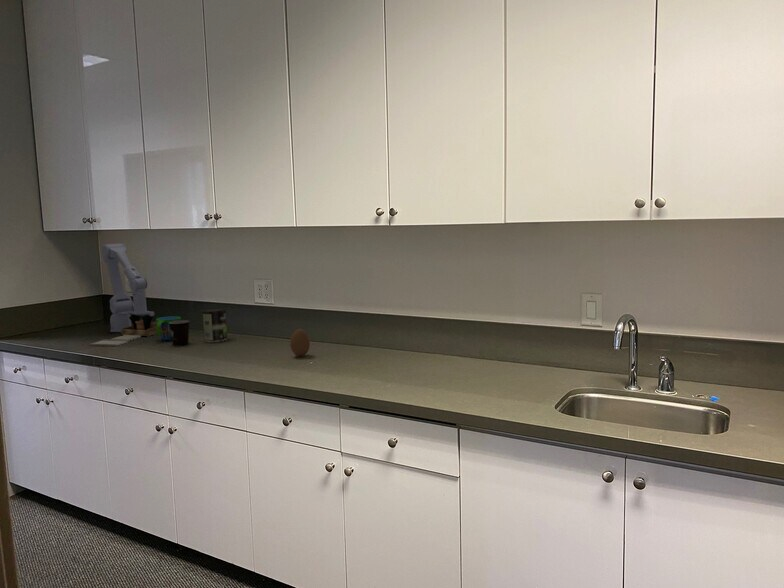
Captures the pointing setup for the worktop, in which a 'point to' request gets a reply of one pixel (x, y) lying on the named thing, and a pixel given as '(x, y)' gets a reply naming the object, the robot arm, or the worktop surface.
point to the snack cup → (165, 326)
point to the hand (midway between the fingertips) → (142, 330)
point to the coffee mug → (179, 332)
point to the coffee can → (214, 325)
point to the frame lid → (109, 343)
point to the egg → (300, 342)
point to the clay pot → (140, 325)
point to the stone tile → (126, 337)
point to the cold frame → (132, 331)
